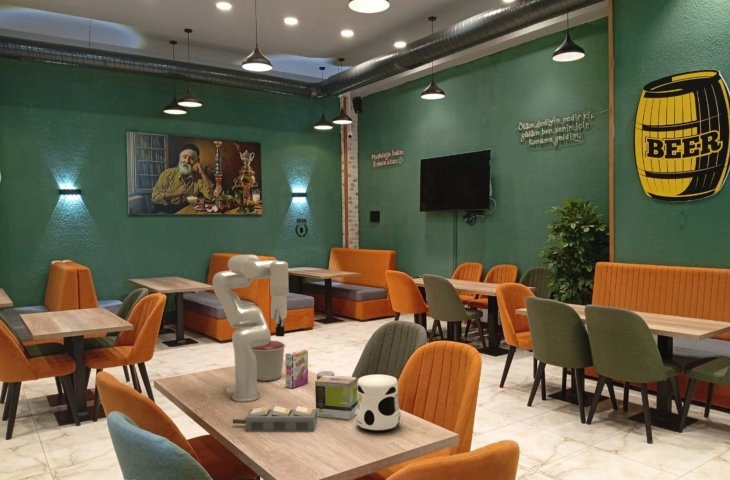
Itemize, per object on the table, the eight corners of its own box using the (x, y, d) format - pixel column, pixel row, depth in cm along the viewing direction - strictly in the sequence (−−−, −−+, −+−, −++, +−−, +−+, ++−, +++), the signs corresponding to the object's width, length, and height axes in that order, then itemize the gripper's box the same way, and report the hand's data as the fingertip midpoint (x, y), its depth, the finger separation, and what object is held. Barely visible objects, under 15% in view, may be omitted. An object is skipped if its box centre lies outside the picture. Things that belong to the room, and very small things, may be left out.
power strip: (229, 431, 204) (229, 417, 204) (236, 422, 213) (236, 409, 213) (313, 431, 202) (313, 417, 202) (317, 422, 211) (316, 409, 211)
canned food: (335, 394, 245) (335, 370, 245) (333, 400, 237) (332, 376, 237) (319, 394, 246) (318, 370, 245) (315, 400, 238) (315, 375, 237)
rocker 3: (294, 414, 205) (295, 410, 204) (296, 409, 210) (297, 405, 209) (309, 417, 204) (310, 413, 204) (311, 413, 209) (312, 408, 209)
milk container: (349, 422, 211) (348, 376, 211) (389, 415, 218) (388, 371, 217) (365, 438, 195) (364, 389, 195) (408, 430, 202) (407, 383, 201)
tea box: (358, 412, 222) (358, 376, 222) (349, 420, 213) (349, 383, 212) (325, 408, 227) (324, 373, 227) (315, 416, 218) (314, 380, 217)
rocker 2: (272, 414, 205) (273, 410, 205) (275, 410, 210) (275, 405, 210) (287, 417, 205) (288, 413, 205) (290, 412, 210) (290, 408, 210)
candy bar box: (293, 389, 254) (292, 354, 254) (285, 387, 257) (284, 353, 256) (308, 383, 263) (308, 350, 263) (301, 381, 266) (300, 348, 266)
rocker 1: (251, 417, 205) (250, 413, 205) (254, 413, 210) (253, 408, 210) (266, 414, 205) (265, 410, 205) (269, 409, 210) (268, 405, 210)
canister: (292, 375, 277) (292, 334, 277) (272, 385, 261) (272, 342, 260) (263, 371, 285) (262, 332, 284) (242, 381, 268) (241, 339, 268)
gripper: (274, 289, 228) (274, 332, 229) (266, 294, 213) (267, 340, 214) (291, 289, 228) (292, 332, 228) (284, 293, 213) (285, 340, 213)
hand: (280, 335), depth 221 cm, fingers closed
